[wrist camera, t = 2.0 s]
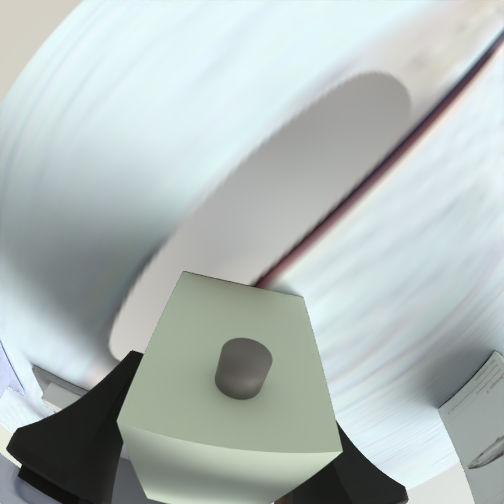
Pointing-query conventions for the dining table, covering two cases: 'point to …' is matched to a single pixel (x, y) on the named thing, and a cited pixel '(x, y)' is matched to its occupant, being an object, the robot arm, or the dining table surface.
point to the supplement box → (480, 430)
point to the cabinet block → (228, 398)
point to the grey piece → (126, 481)
